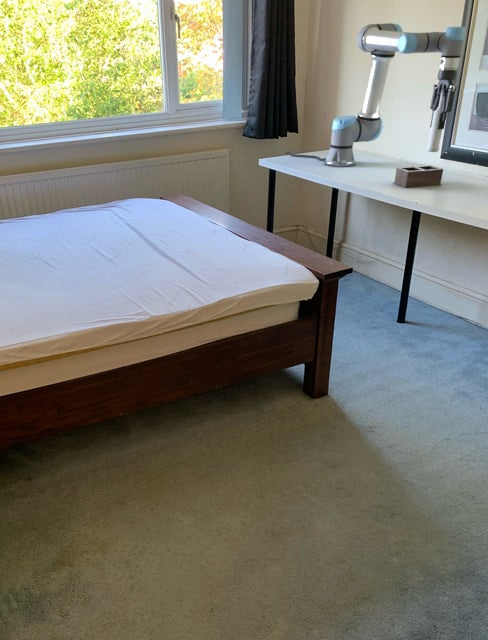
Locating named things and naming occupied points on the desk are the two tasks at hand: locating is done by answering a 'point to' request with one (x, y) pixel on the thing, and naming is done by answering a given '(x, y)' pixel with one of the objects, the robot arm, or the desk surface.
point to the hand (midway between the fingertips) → (436, 128)
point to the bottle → (435, 129)
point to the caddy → (418, 176)
